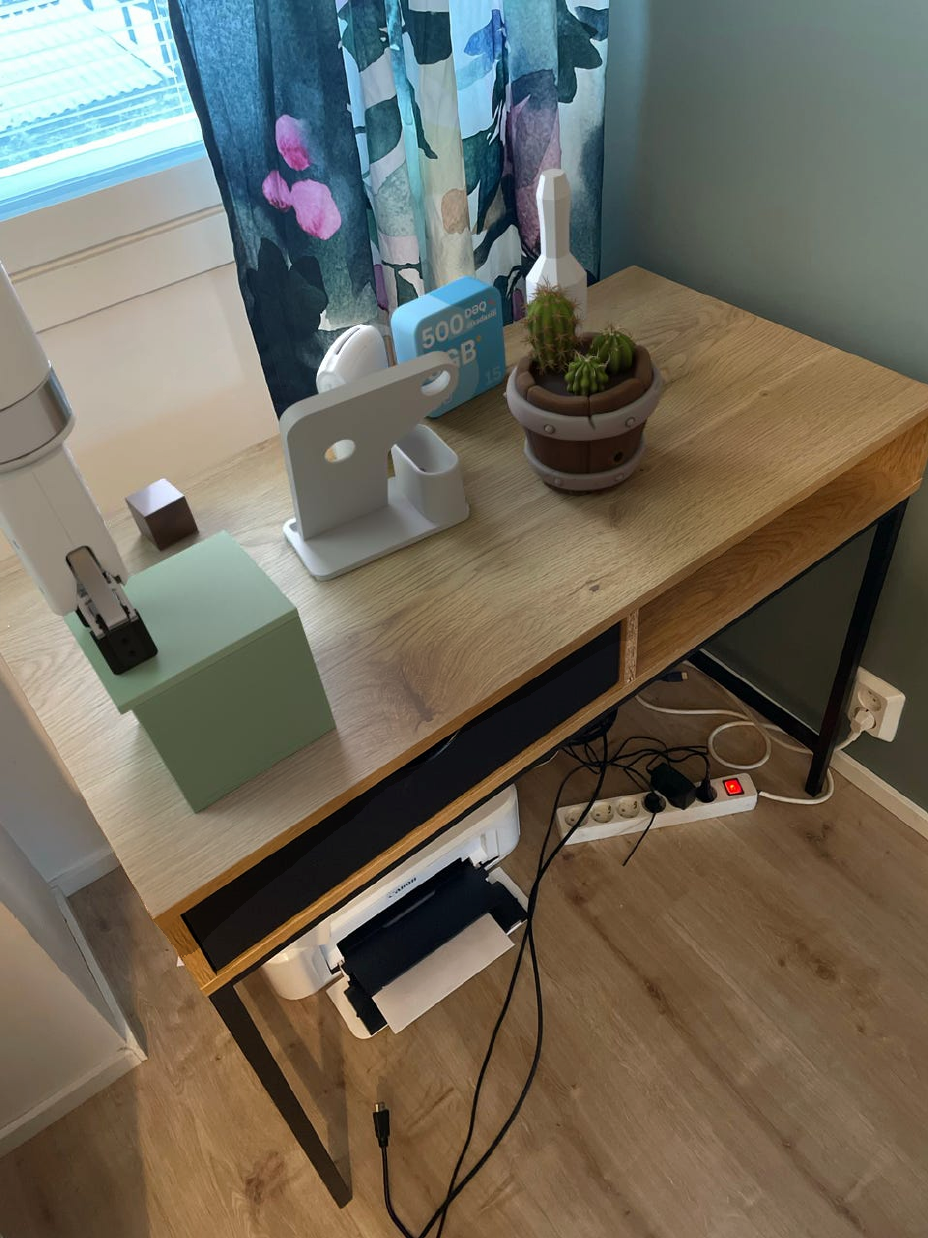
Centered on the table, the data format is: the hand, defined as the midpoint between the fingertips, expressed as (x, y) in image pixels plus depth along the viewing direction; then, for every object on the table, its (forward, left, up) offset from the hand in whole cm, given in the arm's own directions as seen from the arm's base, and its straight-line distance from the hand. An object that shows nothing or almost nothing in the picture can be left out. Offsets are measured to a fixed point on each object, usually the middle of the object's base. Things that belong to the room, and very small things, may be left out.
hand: (119, 637), depth 62 cm
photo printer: (+41, +13, -14) cm, 46 cm away
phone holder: (+30, +3, -14) cm, 34 cm away
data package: (+53, +9, -14) cm, 56 cm away
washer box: (+4, -2, -14) cm, 15 cm away
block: (+19, +22, -14) cm, 33 cm away
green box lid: (+4, -1, -1) cm, 4 cm away
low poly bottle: (+63, +1, -14) cm, 65 cm away
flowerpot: (+47, -11, -14) cm, 50 cm away
